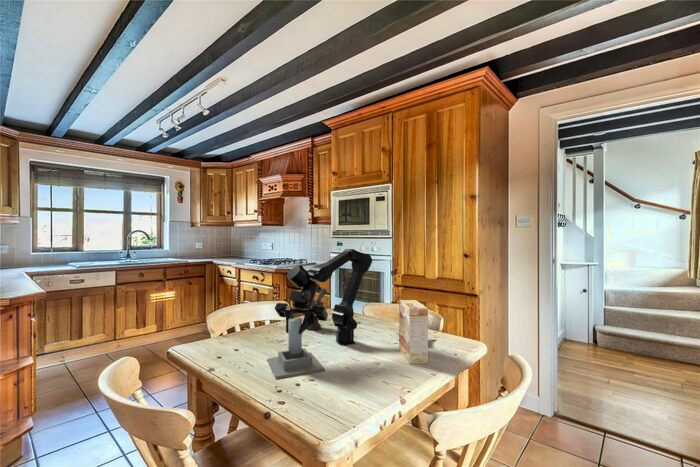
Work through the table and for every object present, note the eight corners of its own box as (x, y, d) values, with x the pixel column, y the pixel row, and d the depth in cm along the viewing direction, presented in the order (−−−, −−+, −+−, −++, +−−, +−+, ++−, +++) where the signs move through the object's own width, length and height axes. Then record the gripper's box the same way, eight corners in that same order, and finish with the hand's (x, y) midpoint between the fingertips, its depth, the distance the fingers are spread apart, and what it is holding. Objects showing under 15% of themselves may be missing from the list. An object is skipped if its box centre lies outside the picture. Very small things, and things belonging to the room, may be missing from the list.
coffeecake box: (398, 349, 127) (398, 299, 127) (416, 348, 128) (416, 299, 128) (408, 364, 112) (408, 308, 112) (428, 363, 113) (428, 307, 113)
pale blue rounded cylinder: (299, 348, 114) (299, 317, 114) (303, 352, 109) (303, 320, 109) (287, 350, 112) (287, 318, 112) (290, 354, 108) (290, 321, 108)
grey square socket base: (310, 354, 121) (310, 344, 121) (324, 370, 106) (324, 359, 106) (267, 360, 115) (267, 350, 115) (275, 379, 100) (275, 366, 100)
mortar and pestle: (331, 327, 158) (331, 286, 158) (324, 332, 149) (324, 289, 150) (309, 325, 161) (309, 285, 161) (301, 330, 153) (302, 287, 153)
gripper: (277, 280, 117) (259, 318, 107) (324, 282, 112) (311, 323, 101) (287, 298, 125) (272, 335, 114) (332, 301, 119) (321, 340, 109)
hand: (293, 333), depth 109 cm, fingers closed on pale blue rounded cylinder, 4 cm apart
